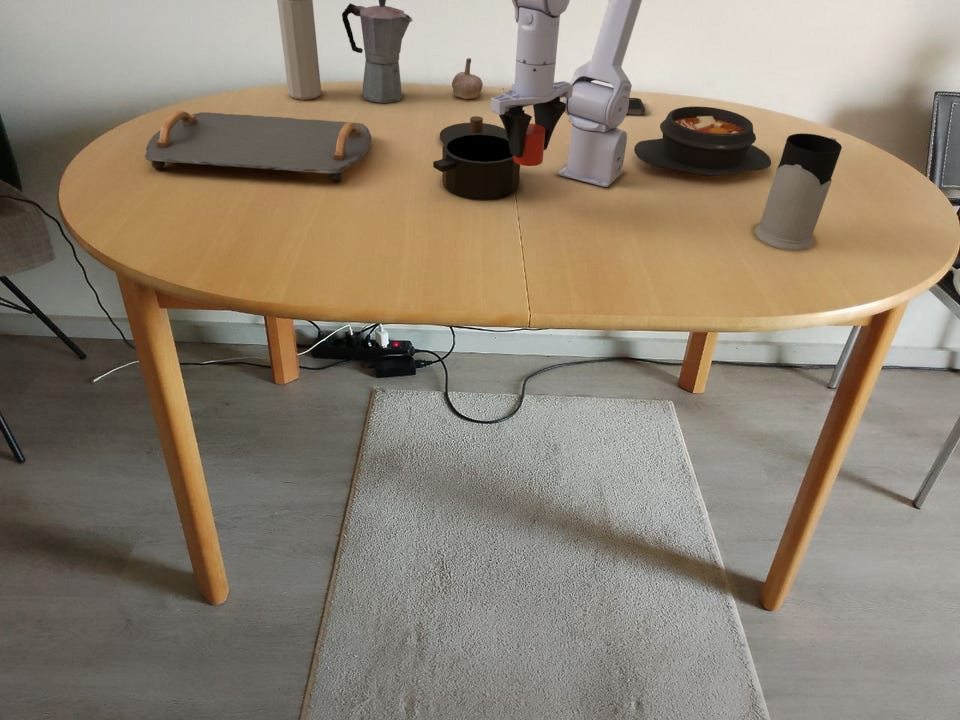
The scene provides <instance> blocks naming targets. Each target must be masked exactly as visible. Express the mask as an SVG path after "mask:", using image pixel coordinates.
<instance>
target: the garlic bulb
mask: <svg viewBox="0 0 960 720" xmlns="http://www.w3.org/2000/svg"><path fill="white" fill-rule="evenodd" d="M471 63H472V58H471V57H468V58H466V60H465V66H464V67H465V68H464V71H459V72H458V73H457V74H456V75H455V76H454V77H453V78H452V82H451V87H452V92H453V94H454V96H456V97H457V98H461V99H463V100H468V99H476V98H477V97H478V96H479V95H480V93H481V91H482V90H483V86H484V83H483V80H482V79H481V77H479V76H478V75H476V74H473V73H471Z"/></svg>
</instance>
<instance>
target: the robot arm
mask: <svg viewBox="0 0 960 720" xmlns="http://www.w3.org/2000/svg"><path fill="white" fill-rule="evenodd" d="M642 1H643V0H608V2H607V6H606V9H605V13H604V15H603V19H602V23H601V25H600V30H599V33H598V36H597V38H596V39H597V40H596V43H595V47H594V50H593V54H592V56H591V60H589V61H587V62H585V63H584V64H581V65H580V66H579V67H577V68H576V69H575V71H574V72H573V76H572V79H571V81H570V82H568V81H565V80H563V81H556V82H555V74H556V64H557V52H558V45H559V44H558V43H559V33H560V23H561V20H560V19H561V15H562V14H563V13H565V12H566V10H567V9H568V6H569V5H570V2H571V0H511V2H512V5H513V7H514V20H515V23H517V38H516V53H515V68H514V69H515V70H514V83H513V84H511V89H509V90H508V91H505V92H504V93H501V94H499V95H498V96H494V97H491V99H490V102H491V103H490V112H491V113H493V114H496V115H498V117H499V118H500V120H501V123H502V125H503V128H504V129H505V131H506V134H507V138H508V143H509V148H510V154H512V155H514V156H516V157H518V158H519V157H522V155H523V152H524V144H525V136H526V132H527V128H528V126H529V124H531V121H532V118H533V116H534V124H537V125H540V126H543V127H544V128H545V130H546V131H545V142H544V151H547V149H548V146H549V144H550V141H551V138H552V135H553V132H554V130H555V128H556V126H557V124H558V122H559V120H560V119H561V118H562V116H563V115H564V113H565V115H566V116H568V119H567V120H568V121H567V122H568V123H571V128H570V137H569V145H568V153H567V154H568V155H567V162H566V165H565V166H564V167H562V168H561V169H560V170H559V171H558V172H557V175H558V176H559V177H564V178H568V179H572V180H576V181H580V182H584V183H588V184H591V185H596V186H599V187H603V188H608V187H609V186H610V185H611V184H612V183H614V182H615V180H617V179H618V178H619V177H620V176H621V175H622V174H623V173H624V170H623V167H624V161H625V154H626V149H627V143H628V142H627V140H628V133H627V131H625V130H623V129H620V128H618V127H619V126H620V125H621V124H622V123H623V121H624V120H625V118H626V117H627V115H628V114H627V111H628V107H629V98H630V96H631V92H632V87H633V85H632V83H631V81H630V79H629V77H628V76H627V74H626V73H625V71H624V70H623V67H622V66H623V63H624V59H625V56H626V53H627V50H628V47H629V45H630V44H629V43H630V40H631V37H632V34H633V31H634V27H635V24H636V21H637V18H638V15H639V12H640V8H641V5H642ZM594 81H597V82H601V83H606V84H609V85H611V86H609V85H604V84H600V83H597V82H594ZM562 98H563V101H562V100H561V99H562ZM530 106H532V108H533V116H532V115H530V114H528V113H525V112H526V110H525V109H524V108H526V107H530Z"/></svg>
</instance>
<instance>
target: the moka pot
mask: <svg viewBox="0 0 960 720" xmlns="http://www.w3.org/2000/svg"><path fill="white" fill-rule="evenodd" d="M386 3H387V0H378V5H372V6H368V7H367V6H362V5H355V4H353V3H348V5H347V6H346V8H345V9H344V11H343V12H342V13H341V18H342V23H343V25H344V29H345V31H346V34H347V38H348V42H349V43H350V48H351V51H353V52H355V53H357V54H362V53H363V52H364V57H365V64H364V71H363V82H362V91H361V97H362V98H364V99H365V100H366V101H369V102H372V103H378V104H391V103H396V102H399V101H400V100H401V99H402V98H403V92H402V82H401V73H400V53H401V50H402V42H403V38H404V37H405V35H406V33H407V30H408V27H409V26H410V23H411V22H413V18H412V17H411V16H410V15H409V14H407V13H405V11H404V10H403V9H399V8H395V7H393V6H389V5H386ZM350 14H353V15H354V16H356V17H359V18H360V25H361V34H362V42H363V48H362V47H358V46H357V43H356V41H355V39H354V34H353V30H352V27H351V24H350V20H349V17H348V16H349V15H350Z"/></svg>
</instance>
